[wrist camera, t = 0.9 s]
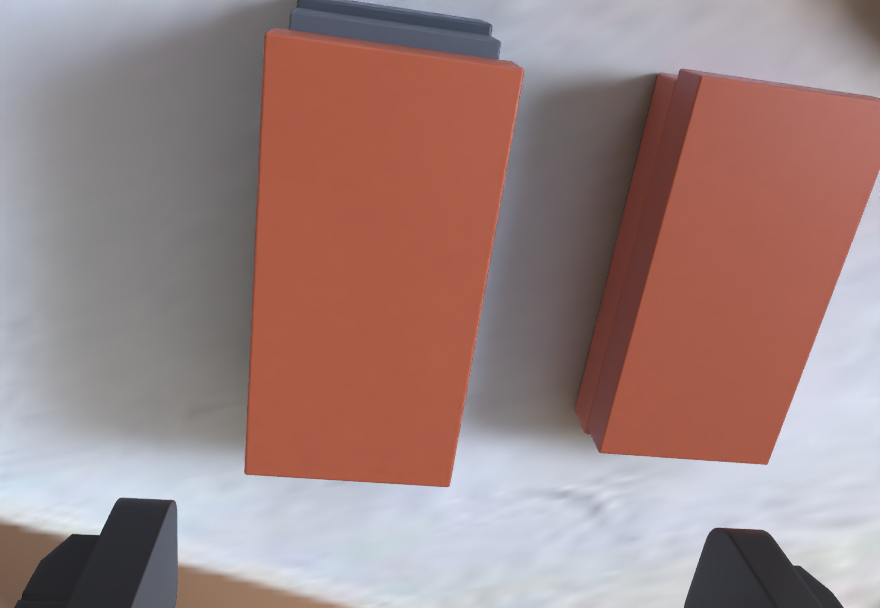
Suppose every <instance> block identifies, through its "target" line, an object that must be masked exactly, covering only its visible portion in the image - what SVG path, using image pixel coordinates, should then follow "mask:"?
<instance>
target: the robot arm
mask: <svg viewBox="0 0 880 608" xmlns="http://www.w3.org/2000/svg"><path fill="white" fill-rule="evenodd" d="M177 584H178V560H177V506H176V502H175V501H174V500H159V499H138V498H119V499H118V500H117V501H116V503H115V505H114V507H113V509H112V511H111V513H110V515H109V517H108V519H107V521H106V523H105V525H104V527H103V529H102V532H101V534H100V535H80V534H72V535H71V536H70V537H68V538H67V539H66V540H65V541H64V542H62V543H61V544H60V545H59V546H58V547H57V548H55V549H54V550H53V551H52V552H51V553H50V554H48V555H47V556H46V557H45V558H44V559H42V560H41V561H40V563H39V565H38V567H37V568H36V570H35V572H34V574H33V575H32V577H31V579H30V581H29V582H28V584H27V586H26V588H25V590H24V591H23V593H22V599H21V600H18V602H17V604H16V606H15V607H14V608H175V606H176V599H177V586H178V585H177ZM684 608H843V606H842V605H841V604H840V602H839V601H838V600H837V598H836V597H835V596H834V594H833V593H832V592H831V591H830V590H829V589H828V588H826V587H825V586H824V585H823V584H821V583H820V582H819V581H818V580H817V579H815V578H814V577H813V576H812V575H810V574H809V573H808V572H807V571H806V570H804V569H803V568H802V567H801V566H793V565H792V563H791V562H790V561H789V559H788V558H787V557H786V555H785V554H784V552H783V551H782V550H781V548H780V547H779V546H778V544H777V543H776V541H775V540H774V539H773V537H772V536H771V535H770V534H769V533H768V532H766V531H764V530H753V529H732V528H715V529H713V530H712V531H711V532H710V533H709V535H708V536H707V539H706V542H705V544H704V547H703V550H702V553H701V556H700V559H699V562H698V565H697V568H696V571H695V574H694V577H693V580H692V583H691V586H690V589H689V592H688V595H687V598H686V601H685V605H684Z"/></svg>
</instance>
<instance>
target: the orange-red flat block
mask: <svg viewBox="0 0 880 608" xmlns="http://www.w3.org/2000/svg"><path fill="white" fill-rule="evenodd" d="M879 170H880V98H876V97H872V96H866V95H859V94H852V93H845V92H838V91H832V90H825V89H818V88H811V87H804V86H797V85H790V84H783V83H777V82H770V81H763V80H756V79H749V78H742V77H735V76H728V75H722V74H715V73H708V72H701V71H694V70H687V69H680V70H679V74H678V75H673V74H666V73H659V74H658V76H657V80H656V84H655V88H654V92H653V96H652V100H651V104H650V108H649V112H648V116H647V120H646V124H645V128H644V132H643V136H642V141H641V145H640V149H639V153H638V157H637V161H636V165H635V169H634V173H633V177H632V181H631V185H630V189H629V193H628V197H627V201H626V205H625V209H624V213H623V217H622V221H621V225H620V229H619V233H618V237H617V241H616V245H615V249H614V253H613V257H612V261H611V265H610V269H609V273H608V278H607V282H606V286H605V290H604V294H603V298H602V302H601V306H600V310H599V314H598V318H597V322H596V326H595V330H594V334H593V338H592V342H591V346H590V350H589V354H588V358H587V362H586V366H585V370H584V374H583V378H582V382H581V386H580V390H579V394H578V398H577V402H576V406H575V413H576V415H577V417H578V419H579V421H580V423H581V425H582V428H583V430H584V432H585V433H587V434H591V436H592V438H593V441H594V443H595V445H596V447H597V449H598V451H599V453H608V454H622V455H637V456H651V457H665V458H679V459H693V460H707V461H722V462H736V463H750V464H764V465H767V464H768V462H769V459H770V457H771V454H772V451H773V449H774V446H775V443H776V441H777V438H778V436H779V433H780V430H781V428H782V425H783V422H784V420H785V417H786V414H787V412H788V409H789V407H790V404H791V401H792V399H793V396H794V393H795V391H796V388H797V386H798V383H799V380H800V378H801V375H802V372H803V370H804V367H805V364H806V362H807V359H808V357H809V354H810V351H811V349H812V346H813V343H814V341H815V338H816V336H817V333H818V330H819V328H820V325H821V322H822V320H823V317H824V315H825V312H826V309H827V307H828V304H829V301H830V299H831V296H832V293H833V291H834V288H835V286H836V283H837V280H838V278H839V275H840V272H841V270H842V267H843V265H844V262H845V259H846V257H847V254H848V251H849V249H850V246H851V243H852V241H853V238H854V236H855V233H856V230H857V228H858V225H859V222H860V220H861V217H862V215H863V212H864V209H865V207H866V204H867V201H868V199H869V196H870V194H871V191H872V188H873V186H874V183H875V180H876V178H877V175H878V172H879Z"/></svg>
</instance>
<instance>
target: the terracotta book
mask: <svg viewBox="0 0 880 608" xmlns="http://www.w3.org/2000/svg"><path fill="white" fill-rule="evenodd" d="M523 76H524V69H523V68H521V67H519V66H518V65H516V64H515V63H513V62H512V61H505V60H498V59H491V58H484V57H477V56H470V55H463V54H456V53H449V52H442V51H435V50H428V49H421V48H414V47H407V46H400V45H393V44H386V43H379V42H372V41H365V40H358V39H351V38H343V37H336V36H329V35H322V34H315V33H308V32H301V31H294V30H287V29H280V28H273V29H271V30H270V31H268V32H266V33H265V35H264V57H263V79H262V100H261V122H260V144H259V166H258V188H257V209H256V231H255V253H254V275H253V297H252V319H251V340H250V362H249V384H248V406H247V428H246V449H245V471H244V472H245V474H247V475H262V476H278V477H294V478H310V479H326V480H342V481H358V482H374V483H390V484H406V485H422V486H438V487H449V486H450V482H451V476H452V471H453V465H454V459H455V454H456V448H457V443H458V437H459V432H460V426H461V421H462V415H463V409H464V404H465V398H466V393H467V387H468V382H469V376H470V370H471V365H472V359H473V354H474V348H475V343H476V337H477V332H478V326H479V320H480V315H481V309H482V304H483V298H484V293H485V287H486V281H487V276H488V270H489V265H490V259H491V254H492V248H493V242H494V237H495V231H496V226H497V220H498V215H499V209H500V204H501V198H502V192H503V187H504V181H505V176H506V170H507V165H508V159H509V153H510V148H511V142H512V137H513V131H514V126H515V120H516V114H517V109H518V103H519V98H520V92H521V87H522V81H523Z"/></svg>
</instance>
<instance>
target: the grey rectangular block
mask: <svg viewBox="0 0 880 608" xmlns="http://www.w3.org/2000/svg"><path fill="white" fill-rule="evenodd" d="M289 30H294V31H301V32H308V33H315V34H322V35H329V36H336V37H343V38H351V39H358V40H365V41H372V42H379V43H386V44H393V45H400V46H407V47H414V48H421V49H428V50H435V51H442V52H449V53H456V54H463V55H470V56H477V57H484V58H491V59H499V53H500V47H501V42H500V41H499V40H497V39H495V38H493V37H491V32H492V25H491V24H489V23H487V22H485V21H482V20H477V19H470V18H464V17H457V16H450V15H444V14H437V13H430V12H423V11H417V10H410V9H403V8H397V7H390V6H383V5H376V4H370V3H363V2H356V1H350V0H297V8H296V9H294V10H292V11H291V12H290V20H289Z"/></svg>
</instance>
